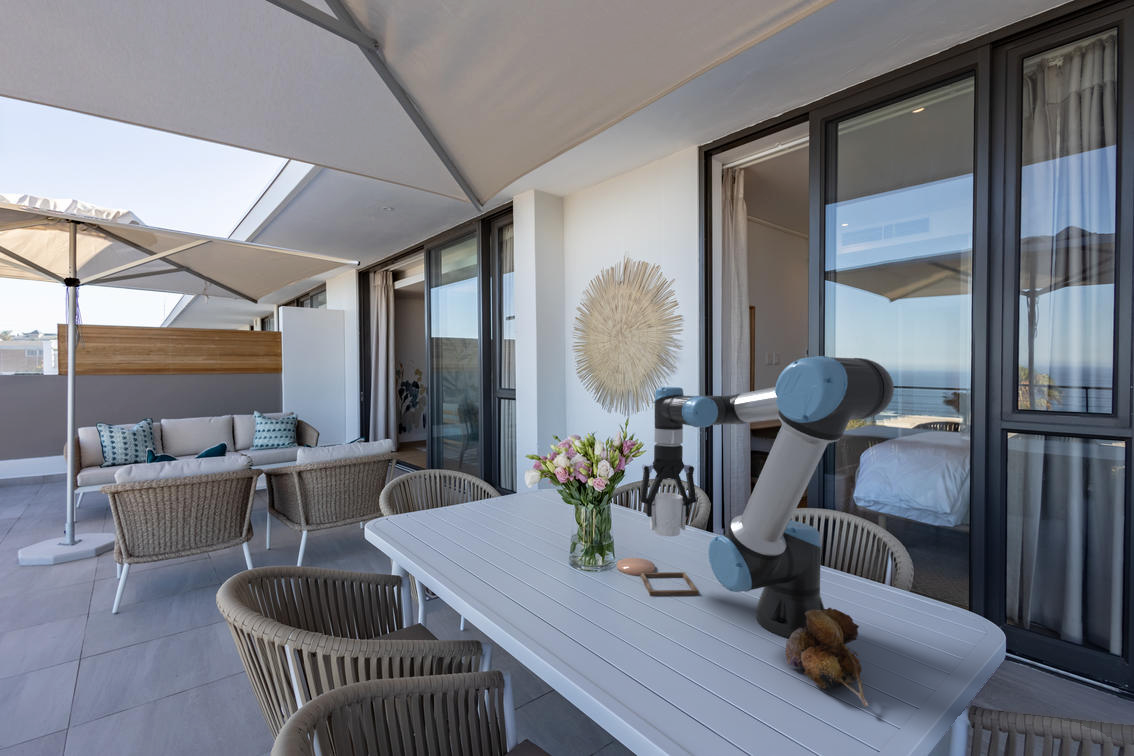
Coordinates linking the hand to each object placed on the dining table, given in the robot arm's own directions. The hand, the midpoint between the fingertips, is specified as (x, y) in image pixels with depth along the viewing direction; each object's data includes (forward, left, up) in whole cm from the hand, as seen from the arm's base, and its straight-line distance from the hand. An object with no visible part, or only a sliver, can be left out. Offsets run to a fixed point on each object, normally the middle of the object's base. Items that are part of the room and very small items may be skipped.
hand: (667, 528), depth 138 cm
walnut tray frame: (-1, 0, -15) cm, 15 cm away
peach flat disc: (+12, +6, -15) cm, 20 cm away
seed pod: (-43, -20, -15) cm, 50 cm away
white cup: (0, 0, -1) cm, 1 cm away
